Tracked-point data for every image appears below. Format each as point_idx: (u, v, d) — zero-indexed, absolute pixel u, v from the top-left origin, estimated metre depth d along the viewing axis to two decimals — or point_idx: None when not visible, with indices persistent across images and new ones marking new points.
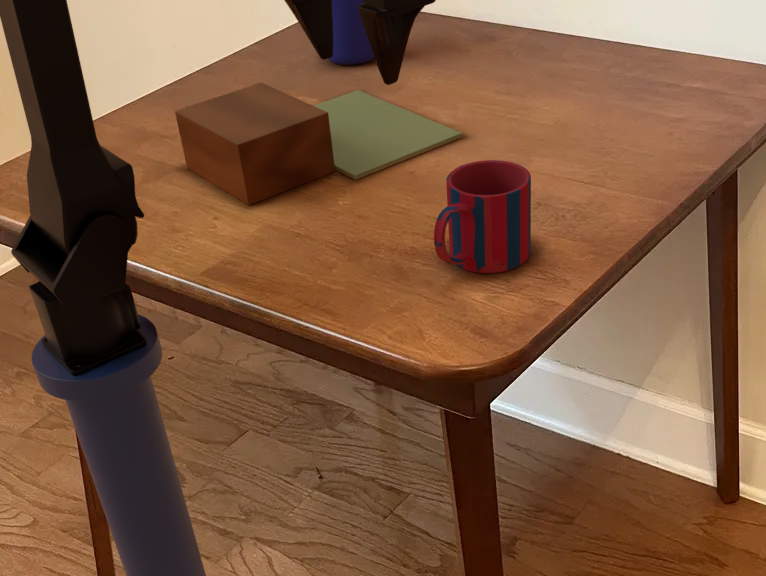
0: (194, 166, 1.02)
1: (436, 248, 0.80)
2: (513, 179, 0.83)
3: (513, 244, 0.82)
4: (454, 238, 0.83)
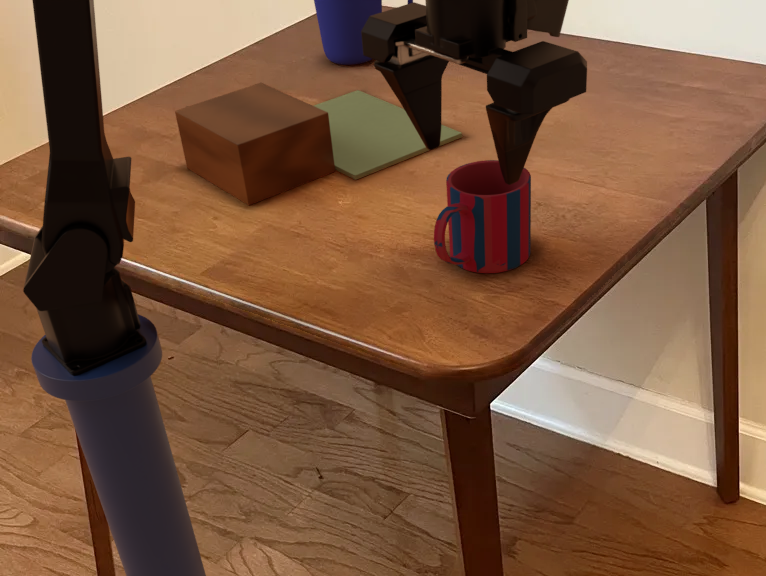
0: (194, 166, 1.02)
1: (436, 248, 0.80)
2: None
3: (513, 244, 0.82)
4: (454, 238, 0.83)
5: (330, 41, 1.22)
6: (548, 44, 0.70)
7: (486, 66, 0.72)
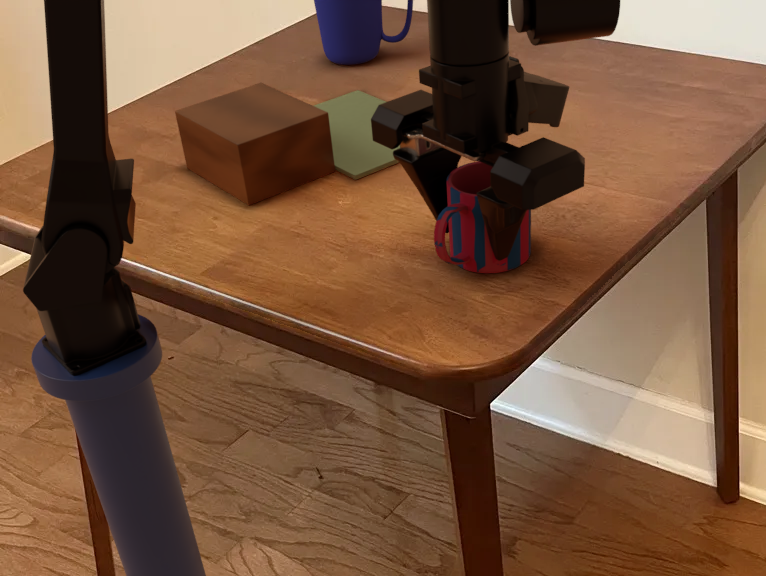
0: (194, 166, 1.02)
1: (436, 248, 0.80)
2: None
3: (513, 244, 0.82)
4: (454, 238, 0.83)
5: (330, 41, 1.22)
6: (548, 141, 0.74)
7: (490, 158, 0.77)
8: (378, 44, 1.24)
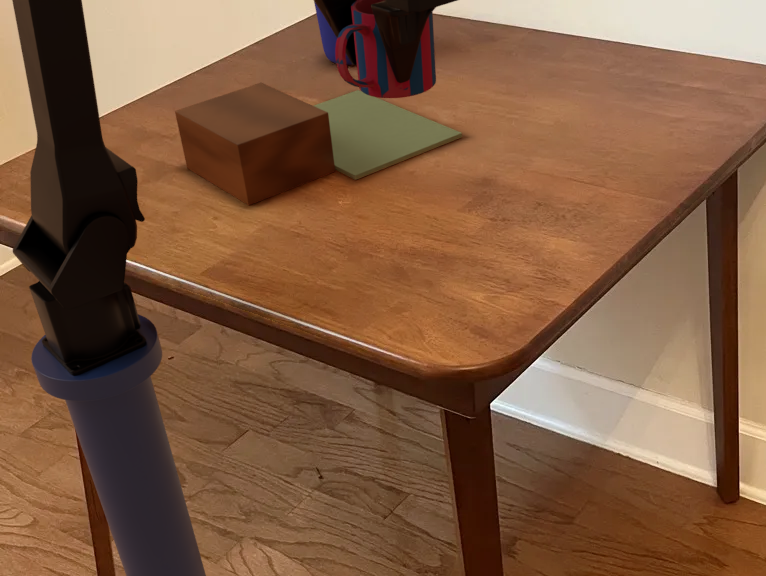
0: (194, 166, 1.02)
1: (338, 67, 0.83)
2: None
3: (415, 68, 0.85)
4: (360, 64, 0.86)
5: (330, 41, 1.22)
6: None
7: None
8: None
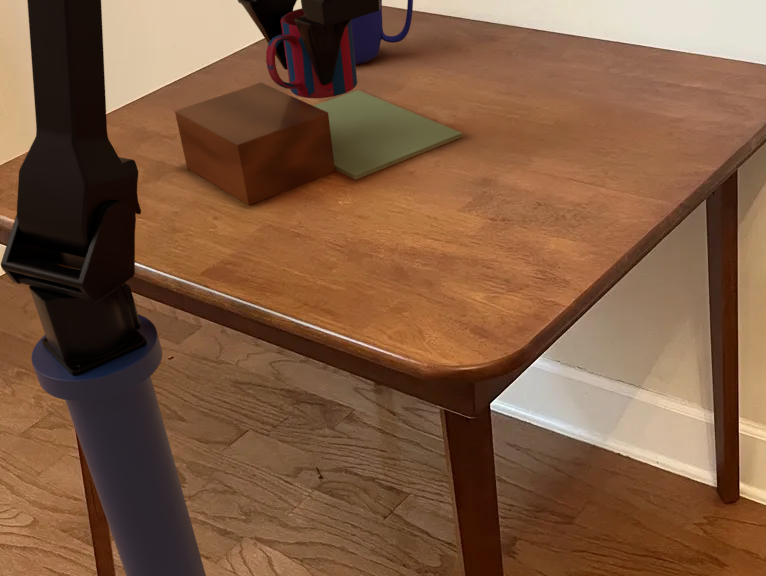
0: (194, 166, 1.02)
1: (269, 71, 0.96)
2: None
3: (337, 72, 0.98)
4: (289, 69, 0.99)
5: None
6: None
7: None
8: (378, 44, 1.24)
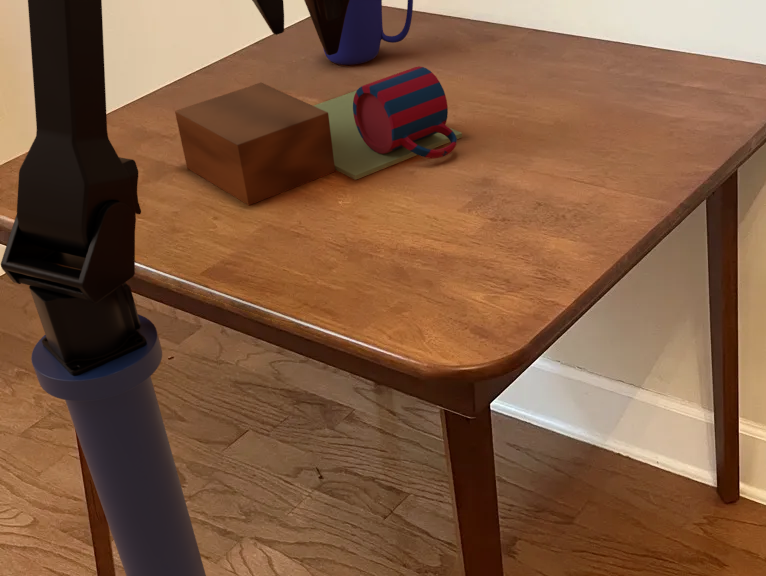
0: (194, 166, 1.02)
1: (441, 153, 0.99)
2: None
3: None
4: (414, 124, 0.99)
5: None
6: None
7: None
8: (378, 44, 1.24)
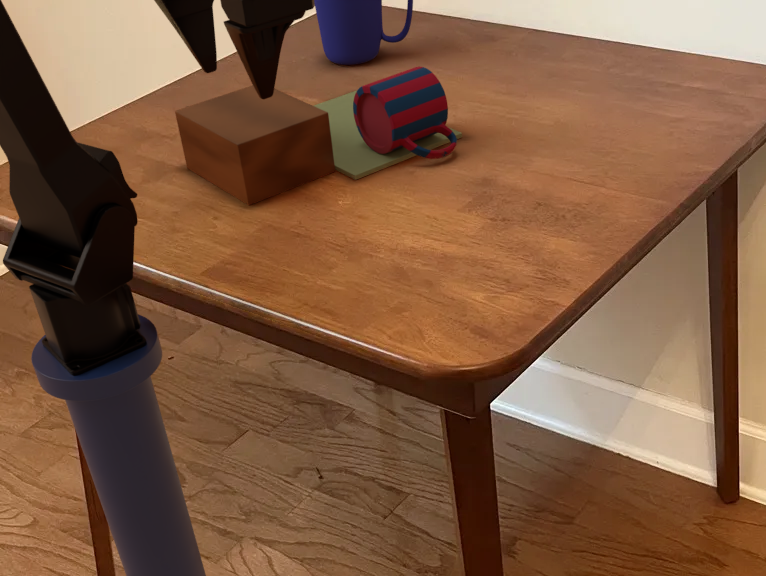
0: (194, 166, 1.02)
1: (441, 153, 0.99)
2: None
3: None
4: (414, 125, 0.99)
5: (330, 41, 1.22)
6: None
7: None
8: (378, 44, 1.24)
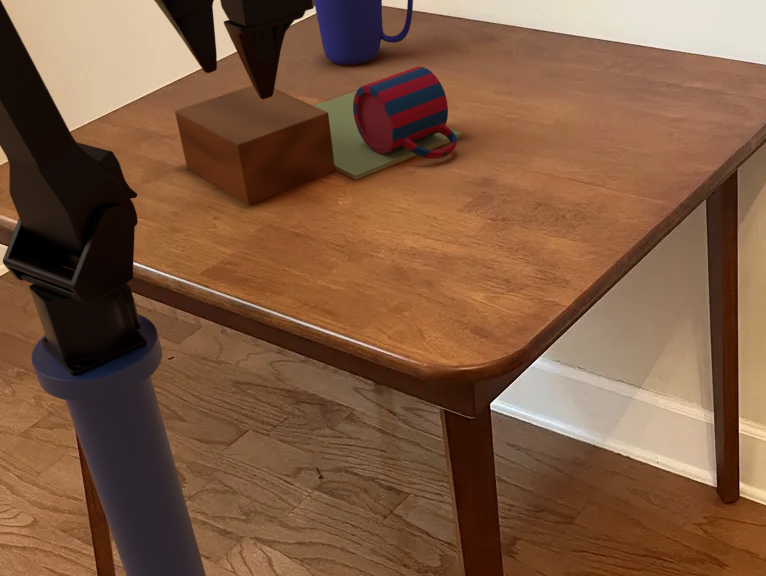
0: (194, 166, 1.02)
1: (441, 153, 0.99)
2: None
3: None
4: (414, 125, 0.99)
5: (330, 41, 1.22)
6: None
7: None
8: (378, 44, 1.24)
